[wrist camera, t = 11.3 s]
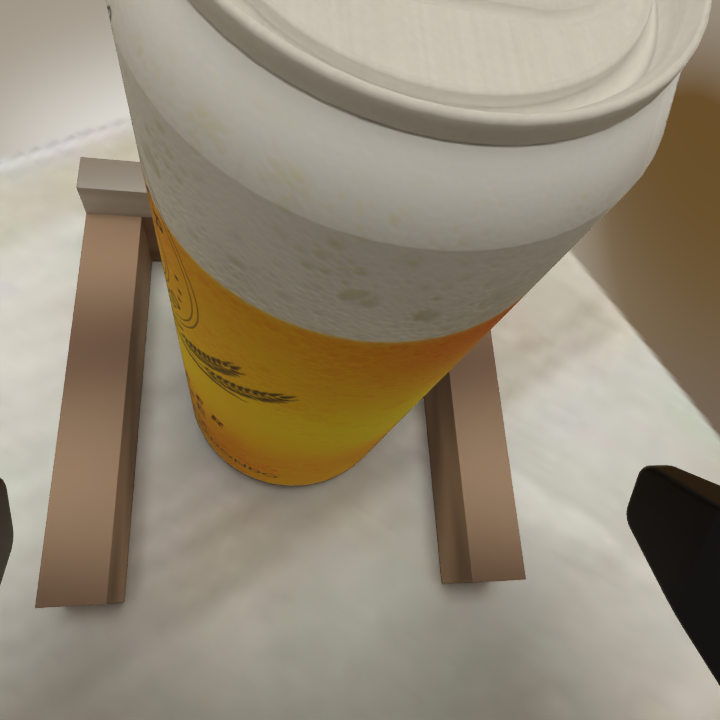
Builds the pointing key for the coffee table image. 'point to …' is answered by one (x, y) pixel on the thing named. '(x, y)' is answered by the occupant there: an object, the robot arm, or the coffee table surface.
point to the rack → (122, 408)
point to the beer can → (374, 189)
